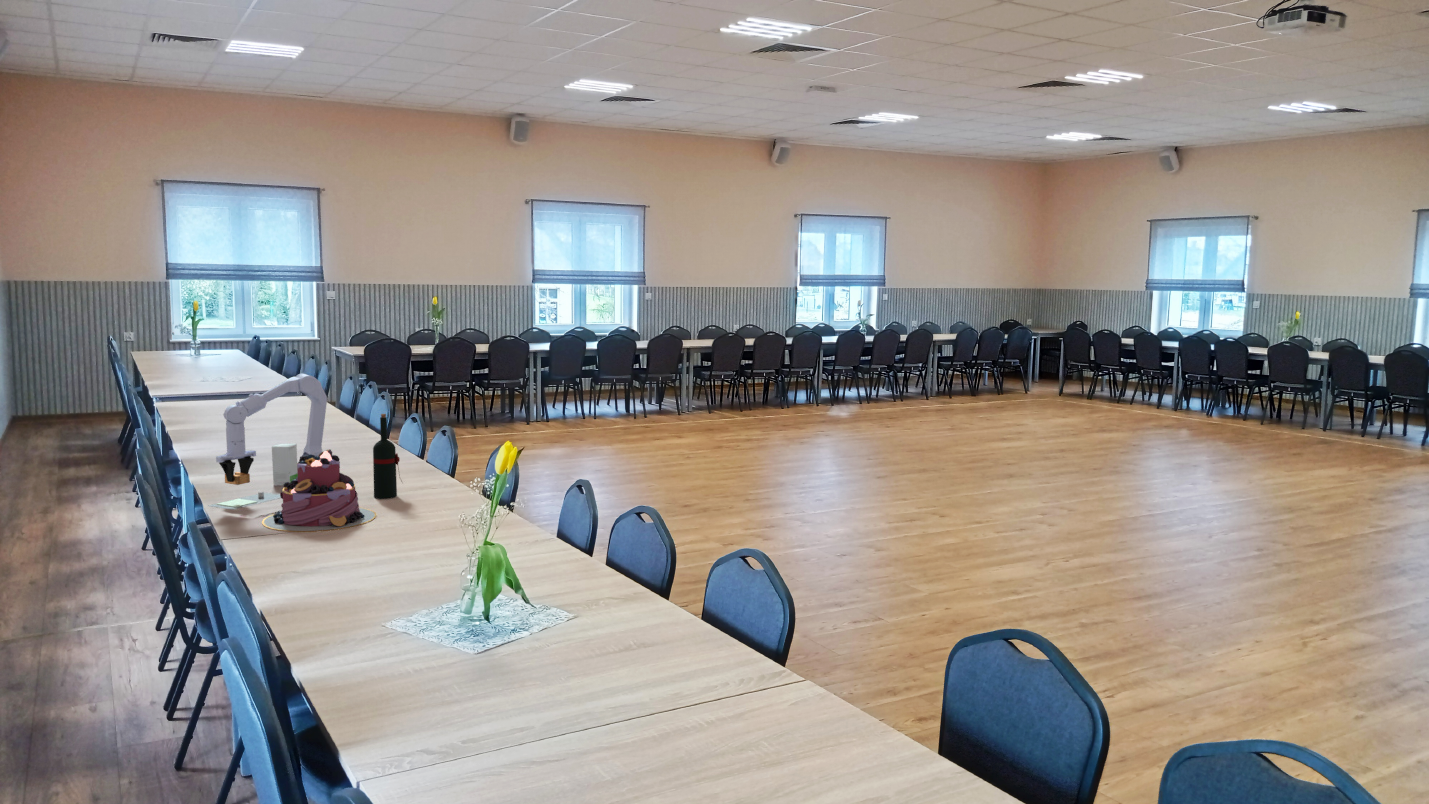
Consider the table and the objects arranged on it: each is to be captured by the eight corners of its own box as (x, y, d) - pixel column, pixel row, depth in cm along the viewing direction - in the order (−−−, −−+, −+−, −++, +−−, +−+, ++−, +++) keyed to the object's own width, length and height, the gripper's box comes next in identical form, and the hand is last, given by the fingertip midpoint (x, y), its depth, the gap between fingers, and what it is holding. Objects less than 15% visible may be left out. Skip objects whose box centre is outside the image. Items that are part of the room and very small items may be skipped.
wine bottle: (404, 497, 367) (402, 414, 363) (374, 499, 364) (372, 415, 360) (402, 493, 374) (401, 412, 371) (373, 495, 371) (371, 412, 367)
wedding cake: (253, 535, 314) (250, 462, 311) (270, 509, 347) (267, 443, 344) (373, 529, 323) (371, 458, 320) (379, 505, 357) (377, 440, 354)
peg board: (289, 498, 363) (289, 490, 363) (232, 512, 342) (232, 503, 341) (264, 495, 368) (264, 486, 368) (207, 508, 347) (206, 499, 346)
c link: (249, 482, 351) (249, 473, 351) (237, 484, 346) (237, 476, 346) (237, 480, 353) (237, 471, 353) (224, 482, 349) (224, 474, 349)
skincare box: (289, 488, 380) (288, 446, 378) (271, 488, 380) (270, 446, 378) (299, 483, 388) (297, 443, 386) (281, 483, 389) (280, 442, 387)
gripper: (245, 436, 356) (246, 475, 358) (209, 442, 343) (210, 482, 345) (259, 438, 353) (261, 477, 355) (224, 444, 340) (225, 484, 342)
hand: (237, 480), depth 350 cm, fingers closed on c link, 5 cm apart
